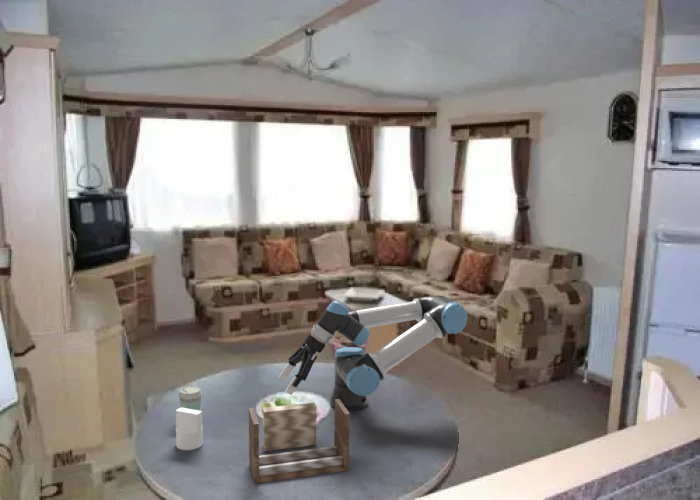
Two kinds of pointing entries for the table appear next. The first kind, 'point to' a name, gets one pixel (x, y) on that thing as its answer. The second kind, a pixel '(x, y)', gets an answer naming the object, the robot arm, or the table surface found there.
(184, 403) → the coffee cup
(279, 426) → the door panel
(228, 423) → the table surface
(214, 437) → the table surface
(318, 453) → the wooden rack
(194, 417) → the white block
